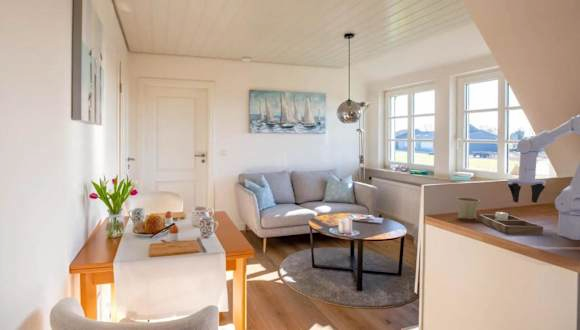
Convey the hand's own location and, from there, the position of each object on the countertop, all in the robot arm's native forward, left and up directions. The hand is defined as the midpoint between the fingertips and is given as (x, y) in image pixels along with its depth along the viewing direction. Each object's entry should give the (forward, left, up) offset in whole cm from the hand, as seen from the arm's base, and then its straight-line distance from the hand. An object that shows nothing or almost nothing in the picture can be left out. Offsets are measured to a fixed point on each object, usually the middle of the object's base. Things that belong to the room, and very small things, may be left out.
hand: (524, 202), depth 156 cm
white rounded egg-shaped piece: (-3, +11, -8) cm, 14 cm away
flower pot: (+9, +19, -10) cm, 23 cm away
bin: (-8, +11, -9) cm, 17 cm away
